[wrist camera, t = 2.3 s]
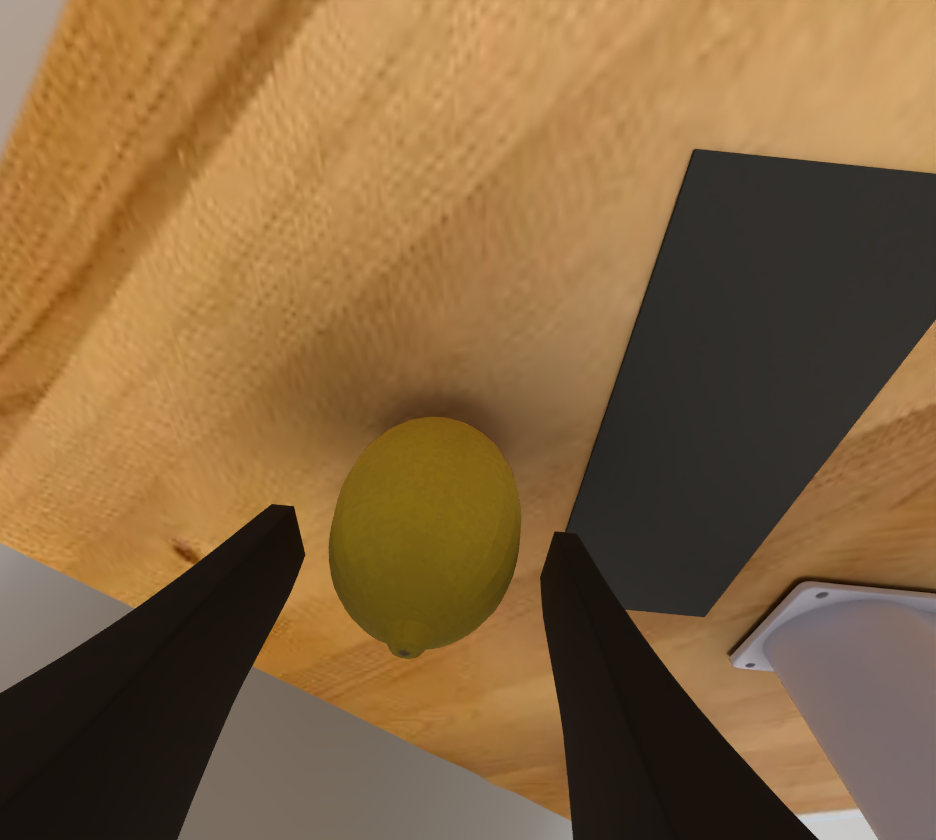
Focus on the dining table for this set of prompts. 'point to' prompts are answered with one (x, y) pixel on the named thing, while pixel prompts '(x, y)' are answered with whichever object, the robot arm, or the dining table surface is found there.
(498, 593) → the lemon
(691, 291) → the mat
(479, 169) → the dining table surface
